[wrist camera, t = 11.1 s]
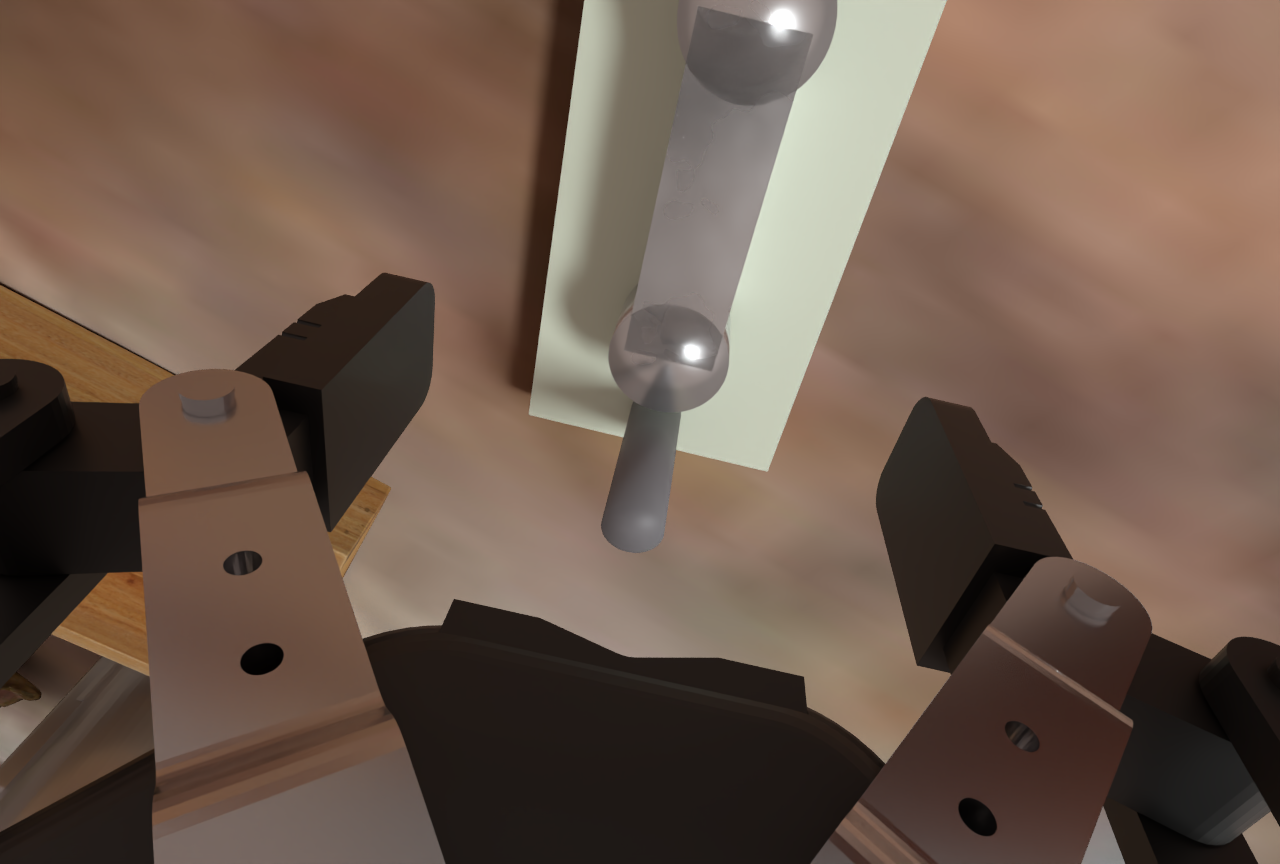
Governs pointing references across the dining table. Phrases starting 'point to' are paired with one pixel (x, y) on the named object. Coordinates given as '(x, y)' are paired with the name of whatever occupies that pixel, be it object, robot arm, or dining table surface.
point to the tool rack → (778, 254)
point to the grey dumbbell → (713, 190)
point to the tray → (120, 376)
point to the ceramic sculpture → (18, 691)
